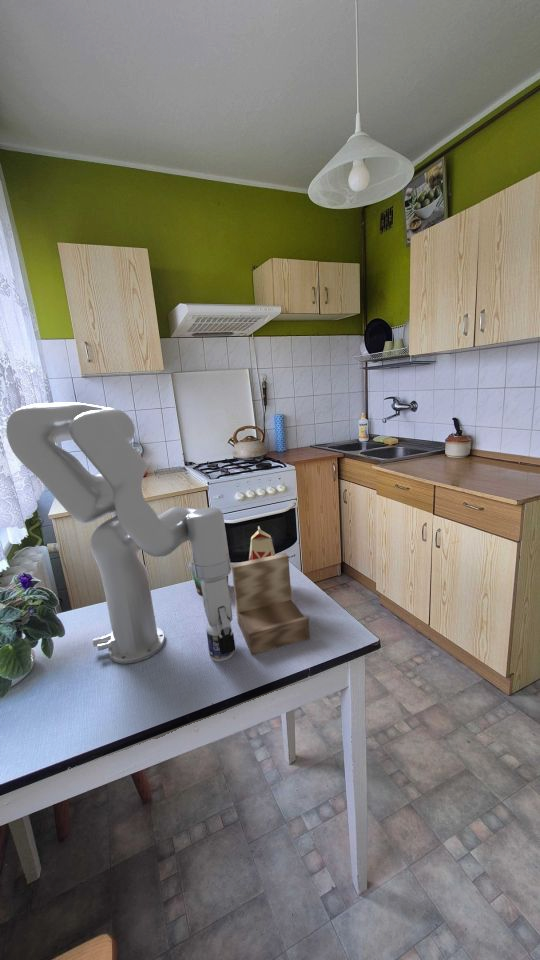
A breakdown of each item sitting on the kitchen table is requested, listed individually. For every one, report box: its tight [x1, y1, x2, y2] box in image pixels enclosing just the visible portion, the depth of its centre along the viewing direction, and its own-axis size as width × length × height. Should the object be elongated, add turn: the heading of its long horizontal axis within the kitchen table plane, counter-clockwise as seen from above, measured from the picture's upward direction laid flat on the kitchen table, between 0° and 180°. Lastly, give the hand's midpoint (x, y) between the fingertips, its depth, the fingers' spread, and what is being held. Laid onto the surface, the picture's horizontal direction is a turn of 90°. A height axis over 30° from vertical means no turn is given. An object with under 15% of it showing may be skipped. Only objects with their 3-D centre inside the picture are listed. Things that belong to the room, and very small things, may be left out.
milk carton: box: [248, 525, 276, 561], centre depth 108 cm, size 9×9×20 cm
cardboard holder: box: [230, 552, 311, 656], centre depth 90 cm, size 14×13×16 cm
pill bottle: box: [206, 619, 235, 662], centre depth 84 cm, size 5×5×10 cm
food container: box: [188, 557, 231, 597], centre depth 111 cm, size 12×6×10 cm, turn 104°
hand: (223, 638), depth 84 cm, fingers open, 9 cm apart
